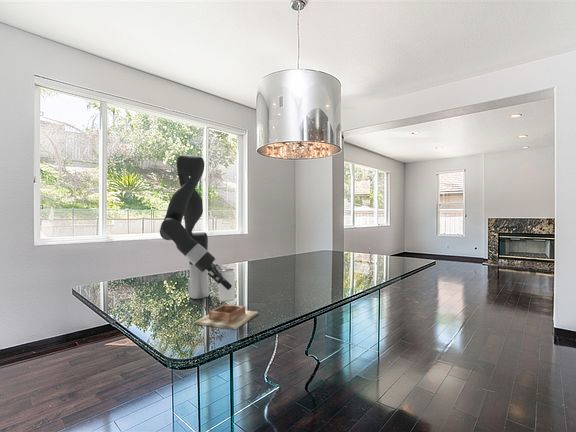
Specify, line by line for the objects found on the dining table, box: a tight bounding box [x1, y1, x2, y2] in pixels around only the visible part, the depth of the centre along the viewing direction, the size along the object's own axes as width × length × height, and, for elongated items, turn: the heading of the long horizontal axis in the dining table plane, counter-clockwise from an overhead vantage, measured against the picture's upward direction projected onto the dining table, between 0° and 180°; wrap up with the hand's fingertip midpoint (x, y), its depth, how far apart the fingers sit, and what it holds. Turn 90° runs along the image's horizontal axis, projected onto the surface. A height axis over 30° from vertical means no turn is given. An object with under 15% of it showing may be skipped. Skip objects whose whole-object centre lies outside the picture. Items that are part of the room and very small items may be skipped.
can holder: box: [194, 303, 259, 330], centre depth 123 cm, size 18×18×4 cm
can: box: [218, 268, 236, 303], centre depth 123 cm, size 6×6×12 cm
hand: (230, 285), depth 123 cm, fingers closed on can, 6 cm apart
